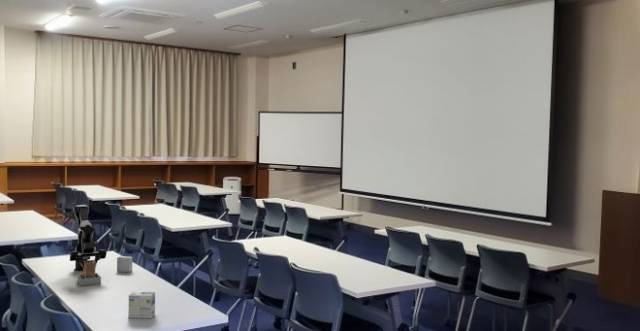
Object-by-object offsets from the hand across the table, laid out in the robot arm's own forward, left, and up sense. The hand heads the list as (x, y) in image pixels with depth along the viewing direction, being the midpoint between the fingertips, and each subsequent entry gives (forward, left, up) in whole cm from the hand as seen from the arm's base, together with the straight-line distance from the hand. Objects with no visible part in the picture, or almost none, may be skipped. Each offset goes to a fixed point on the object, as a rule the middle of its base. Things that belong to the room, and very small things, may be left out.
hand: (89, 268), depth 311 cm
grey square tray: (-1, +1, -9) cm, 9 cm away
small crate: (-1, +1, -7) cm, 7 cm away
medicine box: (+5, +31, -9) cm, 33 cm away
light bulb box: (+51, -46, -9) cm, 69 cm away
